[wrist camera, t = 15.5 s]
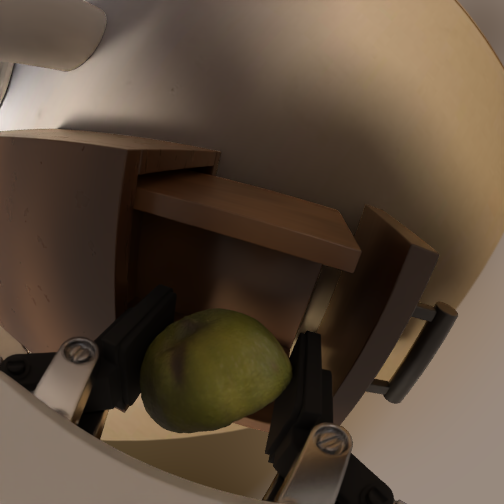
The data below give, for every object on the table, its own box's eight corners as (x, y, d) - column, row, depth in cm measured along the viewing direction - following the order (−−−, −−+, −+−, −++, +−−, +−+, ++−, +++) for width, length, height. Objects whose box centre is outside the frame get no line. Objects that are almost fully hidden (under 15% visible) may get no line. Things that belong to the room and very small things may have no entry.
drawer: (441, 232, 14) (514, 285, 7) (370, 375, 19) (383, 460, 11) (151, 148, 16) (59, 152, 9) (134, 303, 20) (71, 361, 13)
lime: (311, 323, 10) (306, 434, 5) (245, 391, 12) (217, 483, 7) (207, 257, 10) (132, 338, 5) (161, 341, 12) (102, 419, 7)
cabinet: (221, 151, 17) (127, 149, 8) (188, 322, 21) (124, 413, 12) (56, 128, 18) (-37, 135, 9) (50, 261, 23) (-23, 302, 14)
